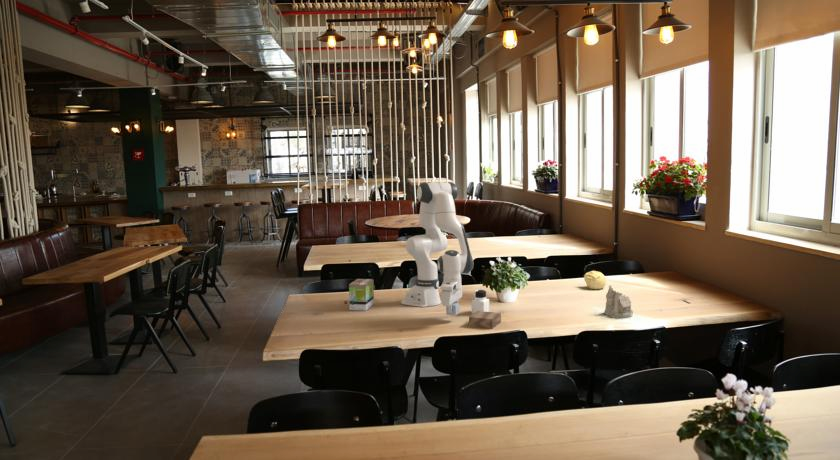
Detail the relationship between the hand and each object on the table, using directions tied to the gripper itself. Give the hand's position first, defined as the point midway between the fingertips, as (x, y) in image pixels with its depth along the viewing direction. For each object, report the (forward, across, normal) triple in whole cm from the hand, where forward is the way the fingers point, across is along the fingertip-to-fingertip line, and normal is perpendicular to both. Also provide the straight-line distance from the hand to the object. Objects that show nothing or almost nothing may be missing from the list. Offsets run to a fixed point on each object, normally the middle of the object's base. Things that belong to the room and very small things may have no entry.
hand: (452, 310), depth 305 cm
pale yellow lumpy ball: (+6, -93, +57) cm, 109 cm away
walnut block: (+6, 0, +17) cm, 18 cm away
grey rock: (+5, -39, +77) cm, 86 cm away
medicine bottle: (+6, -19, +8) cm, 22 cm away
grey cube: (+2, 0, 0) cm, 2 cm away
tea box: (+6, -10, -58) cm, 59 cm away
